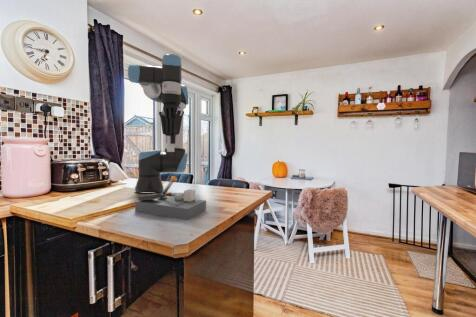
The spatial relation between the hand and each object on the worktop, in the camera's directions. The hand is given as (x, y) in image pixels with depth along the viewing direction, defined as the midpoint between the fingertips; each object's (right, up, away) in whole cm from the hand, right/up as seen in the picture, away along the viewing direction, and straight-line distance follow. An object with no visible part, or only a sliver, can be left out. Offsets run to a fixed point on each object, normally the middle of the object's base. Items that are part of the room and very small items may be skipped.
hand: (170, 151), depth 99 cm
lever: (-4, -18, +1) cm, 19 cm away
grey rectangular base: (+1, -24, -2) cm, 24 cm away
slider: (+8, -20, -1) cm, 22 cm away
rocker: (-8, -18, -3) cm, 20 cm away
